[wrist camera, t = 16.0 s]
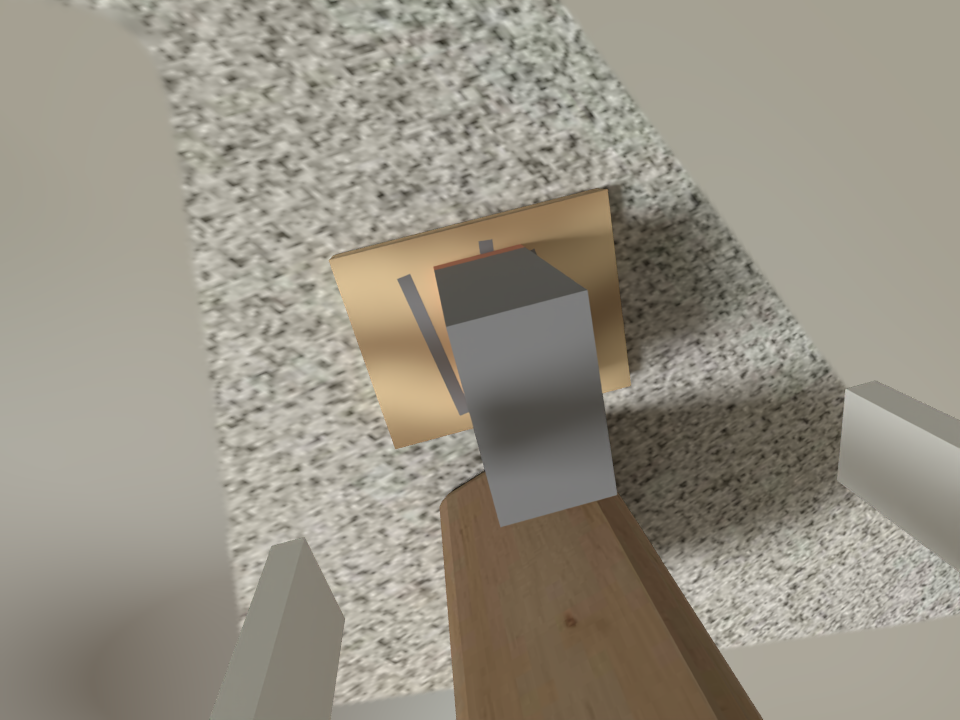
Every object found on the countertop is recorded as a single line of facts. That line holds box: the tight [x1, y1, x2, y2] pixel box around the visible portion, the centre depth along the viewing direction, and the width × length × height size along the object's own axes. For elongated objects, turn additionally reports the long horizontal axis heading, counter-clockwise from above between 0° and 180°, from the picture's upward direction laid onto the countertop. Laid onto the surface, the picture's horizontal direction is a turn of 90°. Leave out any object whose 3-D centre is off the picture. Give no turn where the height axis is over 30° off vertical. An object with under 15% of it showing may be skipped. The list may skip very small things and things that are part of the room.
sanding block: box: [433, 244, 617, 527], centre depth 21 cm, size 8×4×10 cm, turn 13°
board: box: [329, 188, 631, 449], centre depth 26 cm, size 11×14×2 cm
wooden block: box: [440, 472, 763, 720], centre depth 23 cm, size 10×10×20 cm
